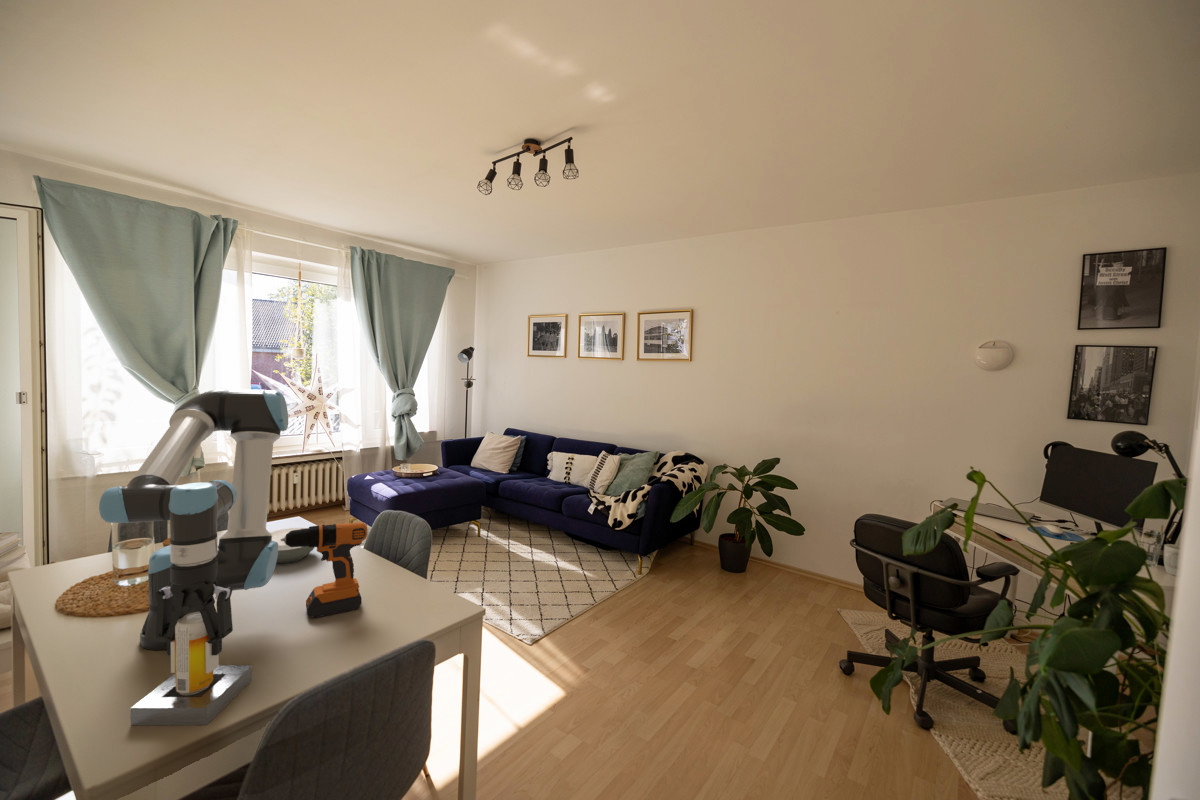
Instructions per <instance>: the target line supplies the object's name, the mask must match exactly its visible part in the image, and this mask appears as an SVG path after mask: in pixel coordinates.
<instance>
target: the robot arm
mask: <svg viewBox="0 0 1200 800" xmlns="http://www.w3.org/2000/svg"><path fill="white" fill-rule="evenodd" d="M168 423H169V427H168V429H167V430H166V431H165V433H163V435H162V437H161V438H160V440H159V441H158V442H157V444H156V445H155V446H154V447H153V449H152V451H151V452H150V453H149V454H148V456H147V458H146V459H145V460H144V462H143V463H142V465H141V466H140V467H139V468H138V470H137V471H136V473H135V474H134V475H133V477H132V478H131V480H130V481H129V482H128V483H127V485H126V486H123V485H119V486H111V487H109V488H107V489H106V490H104V492H103V493H102V494H101V496H100V499H99V503H98V511H99V512H98V513H99V516H100V518H101V519H102V521H104V522H106V523H109V524H110V523H111V524H112V523H114V524H119V523H120V524H123V523H124V524H125V523H126V524H131V523H133V524H134V523H143V522H144V523H145V522H146V523H147V522H159V521H162V522H163V521H169V535H170V537H169V543H170V544H169V545H166V546H164V547H161V548H159V549H158V550H156V551H154V552H153V553H152V554H151V555H150V557H149V560H148V570H147V574H148V577H147V578H148V605H149V606H148V614H147V615H146V618H145V621H144V623H143V626H142V627H141V631H140V635H139V644H140V646H141V647H142V648H143V649H145V650H151V651H161V650H166V653H167V656H170V674H175V626H176V624H177V622H178V620H179V619H181V618H183V617H184V616H185V615H187V614H190V613H194V612H200V613H201V616H202V619H203V622H204V625H205V628H206V630H207V633H208V636H209V640H208V641H207V642H205V654H206V673H210V672H211V671H213V670H214V669H215V668H216V667H217V666H218V665H220V664H219V663H220V661H219V659H220V658H219V654H220V653H221V652H223V639H224V638H226V637H227V636H229V635H230V634H231V633H232V632H233V631H234V629H233V628H234V627H233V614H232V603H231V602H232V601H231V596H232V593H233V591H240V590H244V591H247V590H249V589H250V590H251V589H256V588H262V587H264V586H266V585H267V584H268V583H269V582H270V580H271V578H272V577H273V574H274V571H275V570H276V569H275V568H276V565H277V563H278V562H277V557H278V543H277V542H275V541H272V534H271V533H270V531H268V530H267V521H268V510H269V509H268V508H269V498H270V497H269V496H270V485H271V475H272V474H271V473H272V465H273V463H272V462H273V461H272V460H273V450H274V444H275V442H276V441H278V440H279V439H280V438H281V432H285V431H287V430H288V428H289V412H288V406H287V402H286V399H285V396H284V394H283V393H282V392H280V391H279V390H272V389H271V390H269V389H268V390H267V389H233V388H231V389H227V388H219V389H212V390H208V391H205V392H202V393H200V394H198V395H196V396H194V397H192V398H190V399H188V400H186V401H185V402H184V403H182V404H181V405H180V406H179V407H177V408H176V410H175V411H174V412H173V413H172V415H171V416H170V418H169V421H168ZM219 431H220V432H221V431H227V432H230V435H229V436H230V437H231V438H232V439H233V440H234V441H235V444H236V445H235V451H234V452H235V454H234V462H233V472H232V473H233V475H232V482H229V481H227V480H224V479H215V480H210V481H206V482H192V483H191V482H190V483H184V484H177V483H178V481H179V479H180V478H181V476H182V475H183V473H184V471H185V469H186V468H187V466H188V465H189V463H190V461H191V460H192V459H193V457H194V455H195V454H196V452H197V450H198V449H199V447H200V445H201V444H202V442H203V440H204V439H207V438H208V437H210V436H212V434H213V433H214V432H219ZM227 512H228V521H227V530H226V531H225V533H223V534H222V535H221V536H220V537H219V538H218V519H219V518H220V517H222V516H223V515H224V514H225V513H227ZM214 595H215V597H214ZM215 603H216V604H215ZM215 605H216V606H215Z"/></svg>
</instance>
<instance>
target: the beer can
mask: <svg viewBox="0 0 1200 800" xmlns="http://www.w3.org/2000/svg"><path fill="white" fill-rule="evenodd" d="M208 640H209V636H208V633H207V630H206V628H205V625H204V622H203V619H202V616H201V613H200V612H194V613H190V614H187V615H185V616H184V617H183V618H181V619H179V620H178V622H177V624H176V626H175V673H176V691H177V692H179V693H180V694H181V695H183V696H192V695H197V694H199V693H201V692H204V690H205V689H206V688H208V687H209V685H210V683H211V682H212V681H213V671H211V672H210V673H206V654H205V642H207V641H208ZM175 673H174V674H175ZM205 691H206V690H205Z"/></svg>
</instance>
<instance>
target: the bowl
mask: <svg viewBox="0 0 1200 800" xmlns="http://www.w3.org/2000/svg"><path fill="white" fill-rule="evenodd" d="M305 528H306V527H291V528H284V529H279V530H274V531H269V533H271V534H272V541H275V542H277V543H278V557H277V562H276V563H277V564H279V563H280V564H289V563H293V562H298V561H300V560H301V559H303V558H304V557H305V556H307V555H309V554H310V553H311V552H313V550H314V549H315V547H309V546H306V547H290V546H288V545H286V544H285V543H284V541H281V539H282V538H285V536H286V534H287V533H289V532H290V531H292V530H300V529H305Z"/></svg>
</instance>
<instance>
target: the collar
mask: <svg viewBox="0 0 1200 800" xmlns="http://www.w3.org/2000/svg"><path fill="white" fill-rule="evenodd" d="M252 672H253V668H252V665H251V664H250V665H249V664H248V665H247V664H245V665H244V664H242V665H241V664H240V665H239V664H236V665H235V664H226V665H225V664H219V665H218V666H217V667H216V668H215V669H214V670H213V681H212V682H211V683H210V685H209V687H208V688H206V689H205V691H206V690H207V691H206V692H205V693H204V694H203V695H202V696H184V695H181V694H180V693H179V692H177V691H176V673H172V675H170V677H168V678H167V679H166V680H165V681H163V682H162V683H160V684H159V685H158V686H157V687H155V688H154V689H153V690H152V691H150V692H149V693H148V694H147V695H145V696H144V697H143V698H142V699H140V700H139V701H138V702H136V703H134V705H133V706H131V707H130V726H207V725H209V724H210V723H211V721H212V720H213V719H215V717H217V716H218V715H219V713H220V712H222V711H223V710H224V708H226V707H227V706H228V705H229V703H231V701H233V700H234V698H236V697H237V696H238V694H240V693H241V692H242V691H243V689H245V688H246V687H247V685H249V684H250V683H251V682H252V680H253V679H252V678H253V677H252V676H253V674H252Z"/></svg>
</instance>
